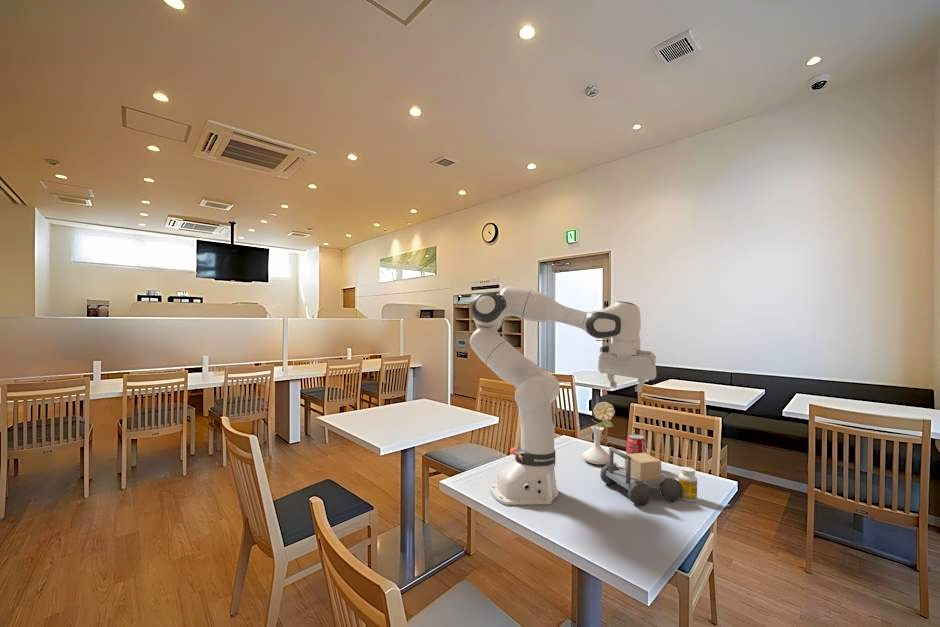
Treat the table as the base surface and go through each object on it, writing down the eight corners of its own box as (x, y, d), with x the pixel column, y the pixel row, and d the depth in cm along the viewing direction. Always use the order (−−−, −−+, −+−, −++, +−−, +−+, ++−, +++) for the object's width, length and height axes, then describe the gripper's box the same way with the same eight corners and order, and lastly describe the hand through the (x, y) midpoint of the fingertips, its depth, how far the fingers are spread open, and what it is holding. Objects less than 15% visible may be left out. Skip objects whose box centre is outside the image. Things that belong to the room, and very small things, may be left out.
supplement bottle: (682, 493, 133) (682, 464, 133) (699, 498, 129) (700, 469, 129) (675, 497, 130) (676, 468, 130) (693, 503, 126) (693, 473, 126)
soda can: (641, 463, 159) (642, 434, 159) (648, 470, 152) (648, 439, 152) (623, 462, 160) (624, 433, 160) (629, 469, 153) (629, 438, 153)
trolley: (631, 507, 122) (632, 460, 122) (600, 484, 139) (600, 443, 139) (682, 500, 127) (683, 456, 127) (646, 479, 144) (646, 440, 144)
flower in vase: (576, 461, 161) (577, 399, 161) (591, 454, 168) (592, 396, 168) (606, 471, 151) (607, 405, 151) (620, 463, 159) (622, 401, 159)
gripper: (660, 351, 129) (660, 393, 128) (606, 346, 145) (605, 384, 145) (650, 352, 125) (649, 395, 125) (595, 347, 142) (595, 385, 141)
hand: (625, 389), depth 135 cm, fingers open, 8 cm apart
